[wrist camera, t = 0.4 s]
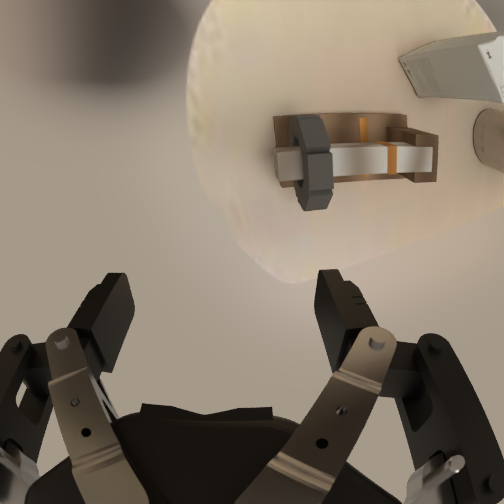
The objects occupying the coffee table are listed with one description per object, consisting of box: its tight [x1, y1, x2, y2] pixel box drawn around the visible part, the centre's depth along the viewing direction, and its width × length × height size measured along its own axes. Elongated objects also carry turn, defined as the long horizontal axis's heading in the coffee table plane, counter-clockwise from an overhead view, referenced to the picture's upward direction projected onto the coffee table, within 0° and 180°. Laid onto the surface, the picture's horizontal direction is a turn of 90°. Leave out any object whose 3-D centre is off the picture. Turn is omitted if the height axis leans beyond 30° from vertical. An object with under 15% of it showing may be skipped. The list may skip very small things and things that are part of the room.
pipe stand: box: [273, 113, 438, 188], centre depth 28 cm, size 17×8×8 cm, turn 97°
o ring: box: [288, 114, 334, 211], centre depth 26 cm, size 2×9×9 cm, turn 7°
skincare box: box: [399, 32, 504, 103], centre depth 20 cm, size 8×6×15 cm
